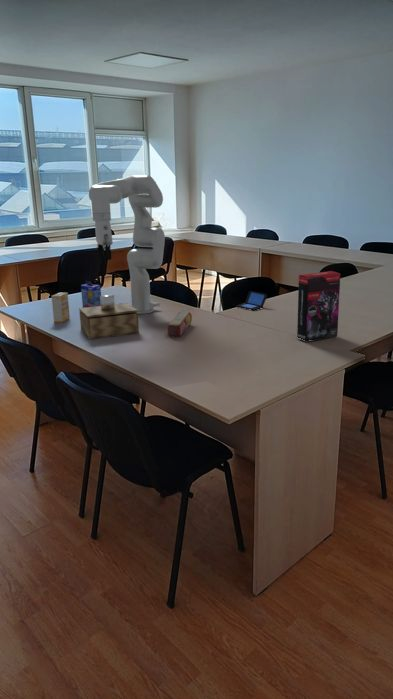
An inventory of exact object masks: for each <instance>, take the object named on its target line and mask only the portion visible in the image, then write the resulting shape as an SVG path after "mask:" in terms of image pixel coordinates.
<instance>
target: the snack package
mask: <svg viewBox="0 0 393 699" xmlns="http://www.w3.org/2000/svg"><path fill="white" fill-rule="evenodd" d="M192 321H193V316H192V313H191V312H189V311H187V310H186V311H184V310H183V311H182V310H181V311H179V312H178V313H177V314H176V316H175V317H174V318H173V319H172V321H171V322H170V323H169V324H168V325H167V336H168V337H170V338H180V337H181V336H182V334H183V333H184V332H185V331H186V330H187V328H188V327H189V326H190V325H191V323H192Z"/></svg>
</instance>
